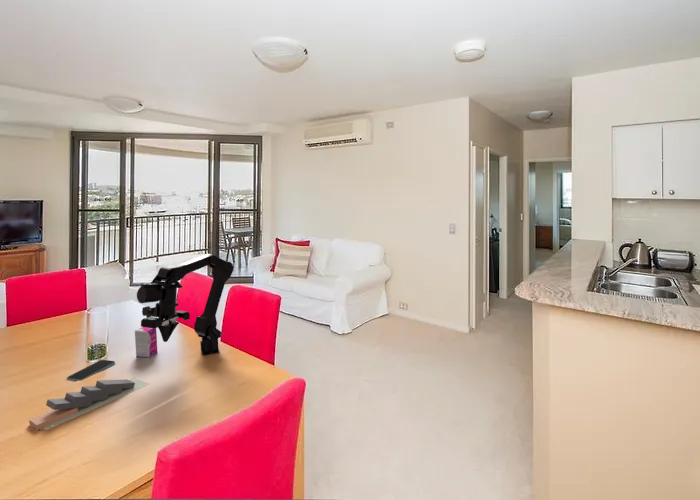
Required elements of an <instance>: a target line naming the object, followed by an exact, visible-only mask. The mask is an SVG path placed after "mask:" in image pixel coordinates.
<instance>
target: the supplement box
mask: <svg viewBox="0 0 700 500" xmlns="http://www.w3.org/2000/svg"><path fill="white" fill-rule="evenodd" d="M157 335H158V334H157V328H147V327H140V328H139V327H138V328H137V329H135V330H134V341H135V356H136V358H144V359H145V358H146V359H149V358H151V357H152V356H154V355H156V354H158V336H157Z"/></svg>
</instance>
